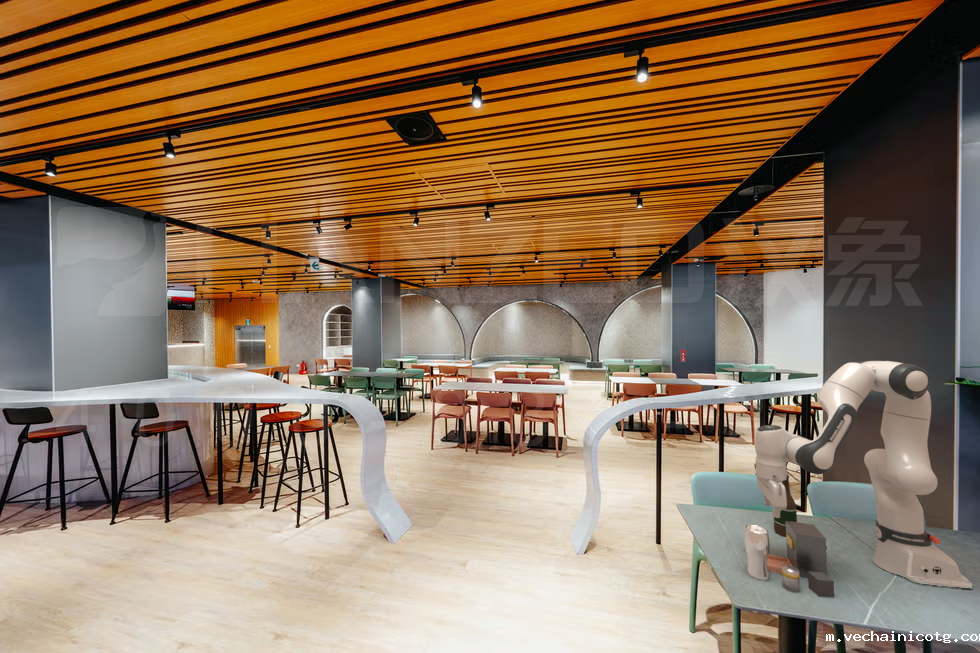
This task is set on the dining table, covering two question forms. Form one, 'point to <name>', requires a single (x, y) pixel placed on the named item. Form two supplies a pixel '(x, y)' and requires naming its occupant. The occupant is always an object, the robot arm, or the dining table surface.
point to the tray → (777, 563)
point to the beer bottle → (786, 512)
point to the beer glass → (757, 551)
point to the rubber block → (821, 584)
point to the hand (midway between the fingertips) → (772, 511)
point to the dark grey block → (806, 548)
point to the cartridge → (790, 578)
